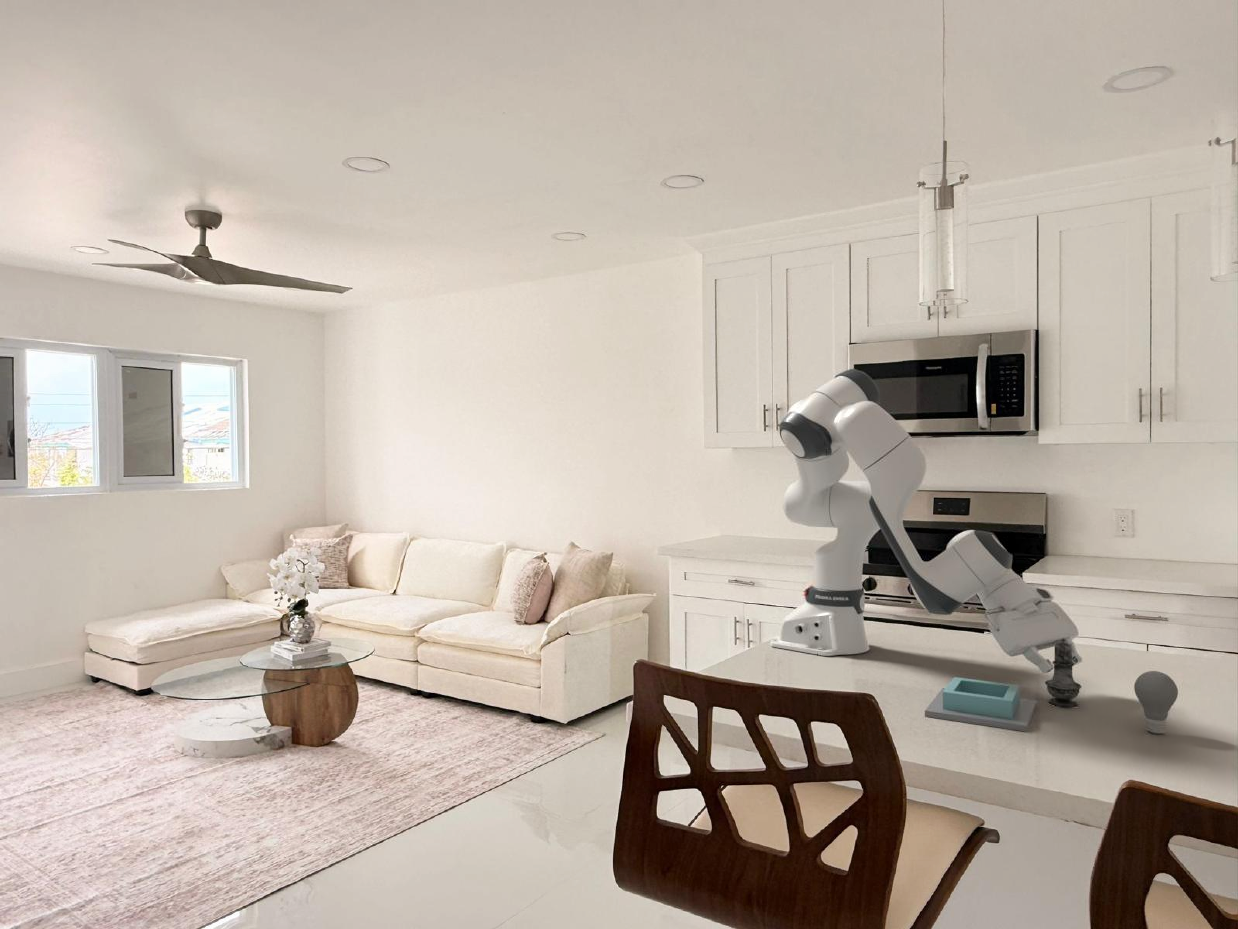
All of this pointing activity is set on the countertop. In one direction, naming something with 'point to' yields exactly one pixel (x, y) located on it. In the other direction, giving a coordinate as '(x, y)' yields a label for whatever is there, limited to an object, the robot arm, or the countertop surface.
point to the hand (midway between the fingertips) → (1063, 667)
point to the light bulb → (1155, 698)
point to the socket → (982, 704)
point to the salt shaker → (1063, 678)
